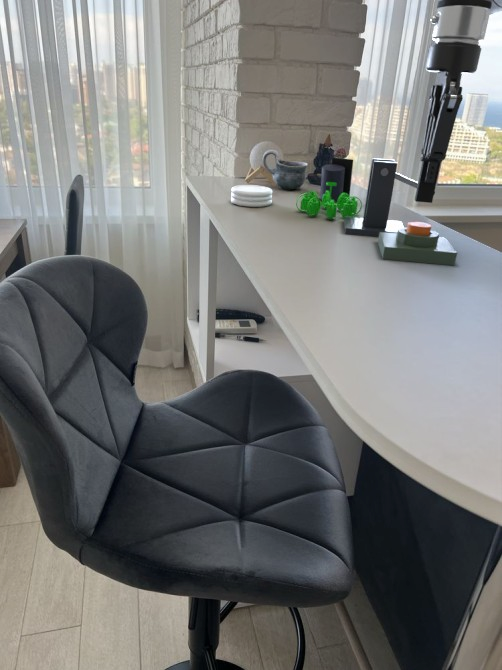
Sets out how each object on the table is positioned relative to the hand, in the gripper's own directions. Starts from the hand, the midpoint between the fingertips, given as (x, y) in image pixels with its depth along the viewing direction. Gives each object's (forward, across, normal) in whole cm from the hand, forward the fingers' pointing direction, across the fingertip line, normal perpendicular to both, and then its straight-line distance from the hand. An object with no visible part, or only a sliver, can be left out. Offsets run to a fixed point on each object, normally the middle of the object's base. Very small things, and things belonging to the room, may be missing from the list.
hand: (423, 201), depth 87 cm
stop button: (+6, 0, 0) cm, 6 cm away
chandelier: (+10, -27, -15) cm, 32 cm away
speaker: (+10, -43, -14) cm, 46 cm away
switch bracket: (+9, -15, -6) cm, 19 cm away
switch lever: (0, -15, -2) cm, 15 cm away
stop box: (+9, 0, 0) cm, 9 cm away
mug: (+10, -55, -28) cm, 62 cm away
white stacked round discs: (+10, -32, -34) cm, 48 cm away
